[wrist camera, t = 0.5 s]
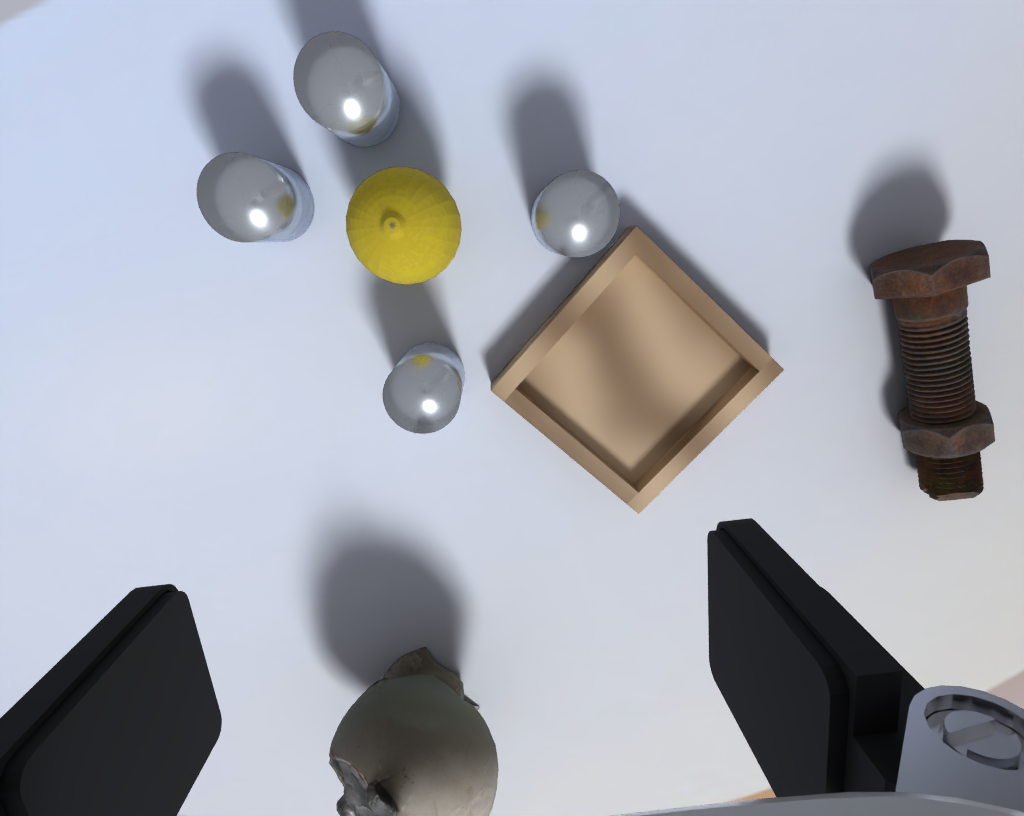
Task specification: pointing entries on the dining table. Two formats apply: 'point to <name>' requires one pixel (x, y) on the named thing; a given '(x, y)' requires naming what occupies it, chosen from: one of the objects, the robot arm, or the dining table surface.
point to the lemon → (403, 225)
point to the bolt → (938, 362)
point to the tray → (635, 371)
